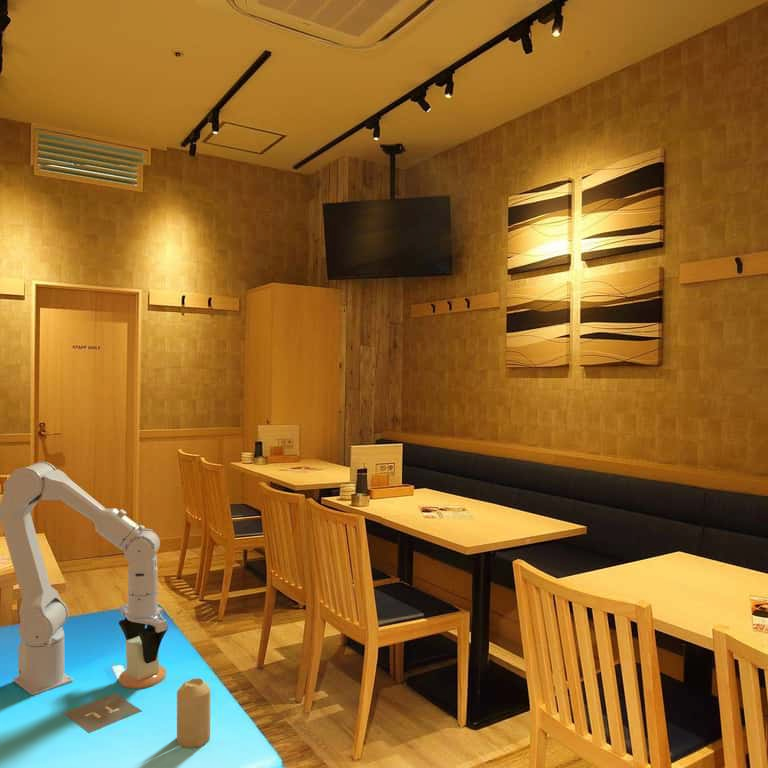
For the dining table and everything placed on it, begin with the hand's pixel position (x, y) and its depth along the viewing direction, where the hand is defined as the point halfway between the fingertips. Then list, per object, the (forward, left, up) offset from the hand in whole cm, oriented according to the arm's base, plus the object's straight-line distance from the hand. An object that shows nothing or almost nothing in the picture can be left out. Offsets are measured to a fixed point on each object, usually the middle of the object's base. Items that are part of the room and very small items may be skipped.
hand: (142, 657), depth 137 cm
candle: (+27, -6, -5) cm, 28 cm away
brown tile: (+7, -12, -4) cm, 15 cm away
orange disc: (0, 0, -4) cm, 4 cm away
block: (0, 0, -3) cm, 3 cm away
